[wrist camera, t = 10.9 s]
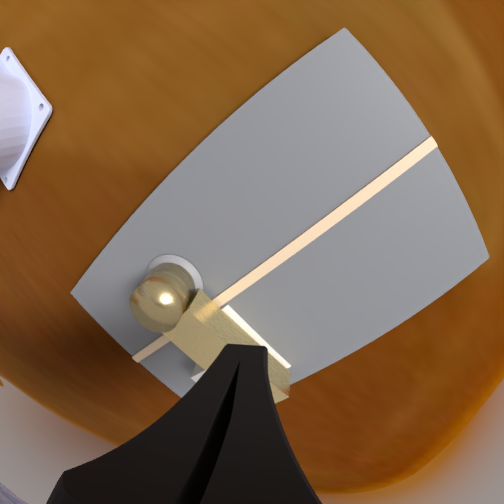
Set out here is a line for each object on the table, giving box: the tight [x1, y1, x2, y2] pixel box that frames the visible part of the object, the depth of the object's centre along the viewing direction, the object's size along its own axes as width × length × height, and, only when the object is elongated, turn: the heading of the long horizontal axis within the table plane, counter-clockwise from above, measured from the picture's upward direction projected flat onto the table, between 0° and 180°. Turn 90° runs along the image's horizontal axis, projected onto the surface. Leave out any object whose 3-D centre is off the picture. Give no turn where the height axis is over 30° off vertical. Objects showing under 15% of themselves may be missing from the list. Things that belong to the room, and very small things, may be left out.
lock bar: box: [129, 262, 291, 403], centre depth 17 cm, size 11×3×3 cm, turn 43°
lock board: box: [71, 28, 489, 398], centre depth 16 cm, size 15×24×3 cm, turn 131°
